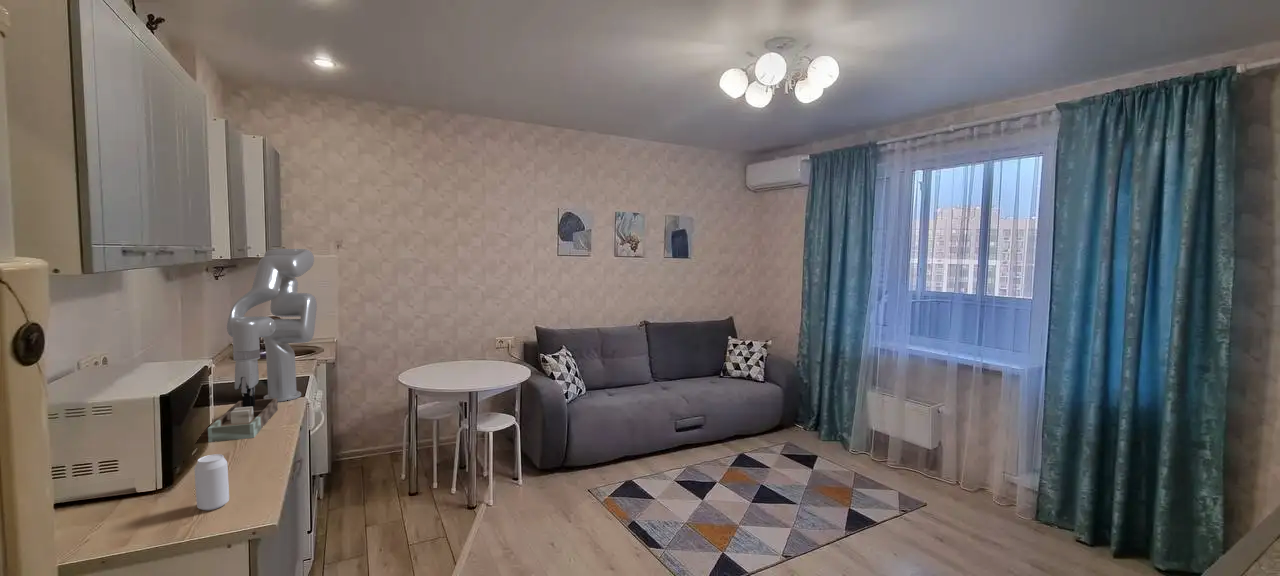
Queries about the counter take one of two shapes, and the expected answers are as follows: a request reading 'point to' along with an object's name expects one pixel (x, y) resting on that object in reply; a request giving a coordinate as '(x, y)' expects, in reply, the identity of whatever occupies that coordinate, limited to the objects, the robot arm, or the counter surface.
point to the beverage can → (211, 482)
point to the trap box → (229, 431)
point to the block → (242, 415)
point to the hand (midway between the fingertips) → (249, 406)
